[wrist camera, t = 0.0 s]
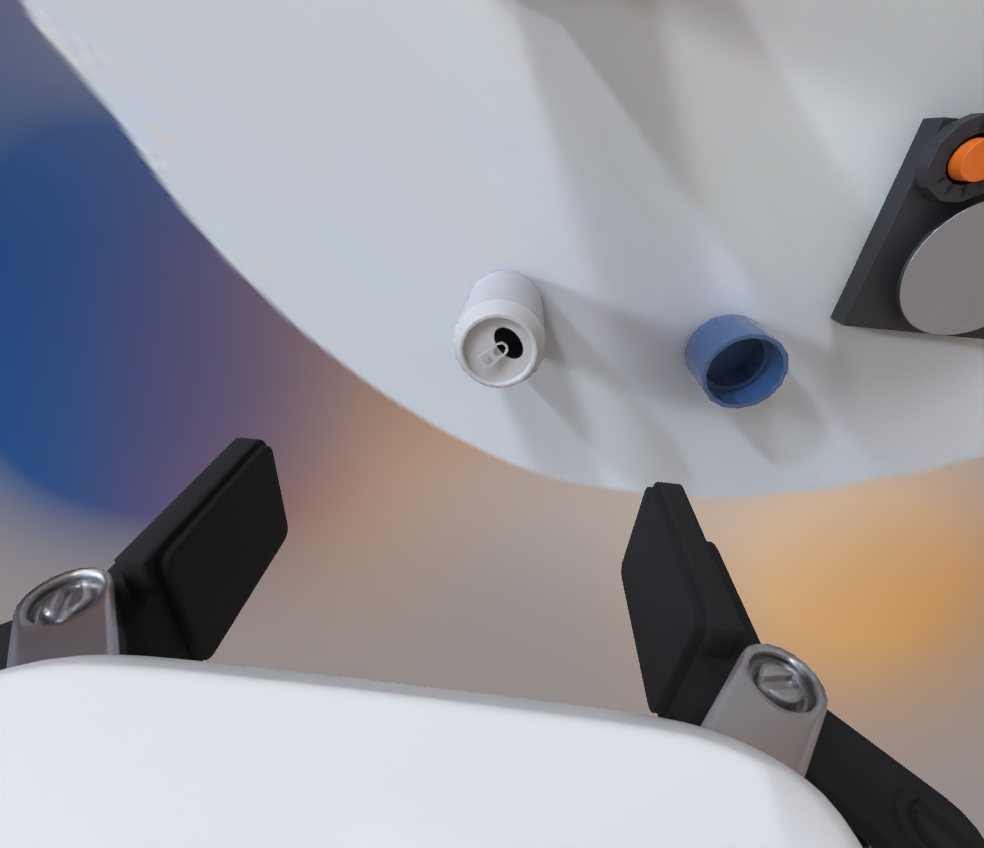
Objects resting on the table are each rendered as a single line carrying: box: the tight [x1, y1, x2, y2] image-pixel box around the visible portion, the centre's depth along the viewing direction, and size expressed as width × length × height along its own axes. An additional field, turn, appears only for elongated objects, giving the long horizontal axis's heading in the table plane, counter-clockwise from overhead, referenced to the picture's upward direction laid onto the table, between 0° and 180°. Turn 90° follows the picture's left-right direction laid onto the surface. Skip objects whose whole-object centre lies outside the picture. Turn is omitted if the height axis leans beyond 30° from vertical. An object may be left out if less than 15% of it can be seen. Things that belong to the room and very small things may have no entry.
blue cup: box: [685, 315, 788, 408], centre depth 44 cm, size 7×7×6 cm
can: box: [453, 270, 546, 388], centre depth 41 cm, size 8×8×12 cm
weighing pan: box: [896, 200, 984, 335], centre depth 38 cm, size 11×11×1 cm
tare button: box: [947, 138, 984, 182], centre depth 34 cm, size 3×3×1 cm
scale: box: [831, 113, 984, 339], centre depth 39 cm, size 16×14×4 cm
